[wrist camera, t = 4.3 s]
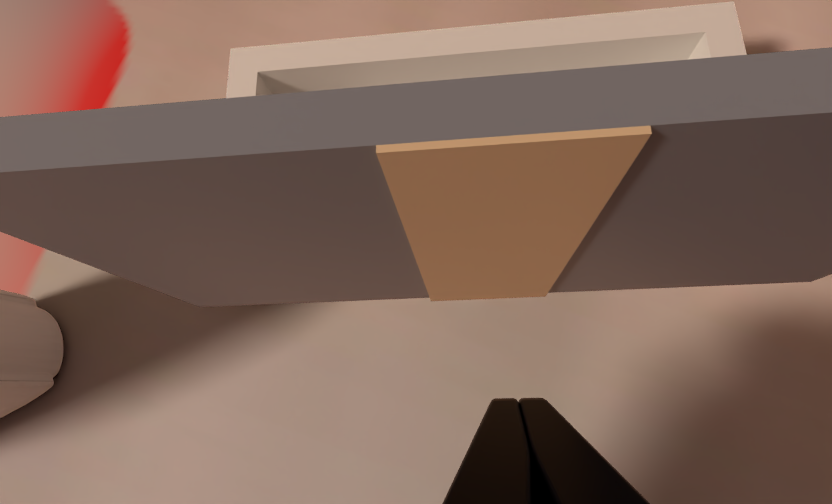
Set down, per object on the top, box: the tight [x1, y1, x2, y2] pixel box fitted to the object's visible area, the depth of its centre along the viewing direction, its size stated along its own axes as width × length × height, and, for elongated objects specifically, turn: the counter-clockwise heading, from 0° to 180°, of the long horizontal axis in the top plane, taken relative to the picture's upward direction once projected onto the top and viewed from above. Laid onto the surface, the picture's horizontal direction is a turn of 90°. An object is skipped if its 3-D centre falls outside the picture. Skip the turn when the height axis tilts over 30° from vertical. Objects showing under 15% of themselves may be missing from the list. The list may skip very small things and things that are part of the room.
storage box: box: [226, 1, 747, 98], centre depth 16 cm, size 8×16×4 cm, turn 91°
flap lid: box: [0, 48, 832, 307], centre depth 9 cm, size 8×16×1 cm
